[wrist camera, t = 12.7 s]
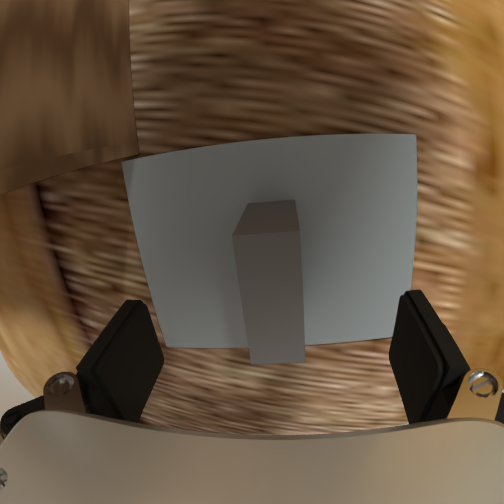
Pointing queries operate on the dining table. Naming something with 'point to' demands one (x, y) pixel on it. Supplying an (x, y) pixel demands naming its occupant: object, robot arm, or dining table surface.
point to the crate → (63, 87)
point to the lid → (277, 240)
